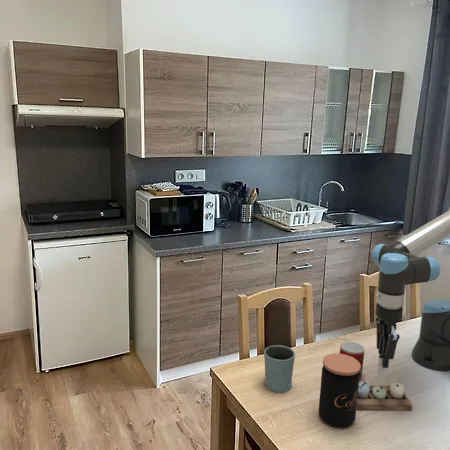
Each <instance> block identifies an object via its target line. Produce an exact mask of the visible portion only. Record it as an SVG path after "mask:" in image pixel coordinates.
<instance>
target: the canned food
mask: <svg viewBox="0 0 450 450" xmlns="http://www.w3.org/2000/svg"><path fill="white" fill-rule="evenodd" d="M339 354H344V355H348V356H351V357H353V358H355V359H356V360H357V361H358V362H359V363H360V365H361V368H360V371H359V372H360V379H359V381H360V380H361V379H362V376H363V368H364V358H365V347H364V346H363V345H362V344H360V343H358V342H353V341H344V342H341V343H340V347H339Z"/></svg>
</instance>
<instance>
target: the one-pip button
mask: <svg viewBox="0 0 450 450" xmlns="http://www.w3.org/2000/svg"><path fill="white" fill-rule="evenodd" d="M389 386H390V393H389V394H390V396H392V397H393V398H396V399H401V398H403V392H404V389H405V386H404V384H402V383H401V382H396V381H395V382H394V381H393V382H391V383H390V385H389ZM404 393H405V392H404Z"/></svg>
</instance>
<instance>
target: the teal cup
mask: <svg viewBox="0 0 450 450" xmlns="http://www.w3.org/2000/svg"><path fill="white" fill-rule="evenodd" d="M263 355H264V356H263V357H264V376H265V377H264V378H265V379H264V381H265V383H264V384H265V387H266V388H267V390H270V391H271V392H275V393H286V392H288V391H290V390H291V388H292V383H293V382H292V381H293V372H294V364H295V360H296V359H295V358H296V353H295V351H294V349H292V348H290V347H289V346H286V345H281V344H279V345H278V344H275V345H269V346H267V347H266V348H265V349H264V351H263Z"/></svg>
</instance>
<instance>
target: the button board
mask: <svg viewBox="0 0 450 450" xmlns="http://www.w3.org/2000/svg"><path fill="white" fill-rule="evenodd" d="M374 386H375V385H369V395H368V398H359V397H358V398H357V407H356V411H403V412H404V411H405V412H407V411H412V410H413V403H412V402H411V401H410V399H409V398H408V396H407V395H406V394H405V392H403V398H401V399H396V398H393V397H392V396H390V394H389V393H390V385H380V386H381V387H383V388H385V389H386V398H385V399H374V398H373V396H372V392H373V387H374Z"/></svg>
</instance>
